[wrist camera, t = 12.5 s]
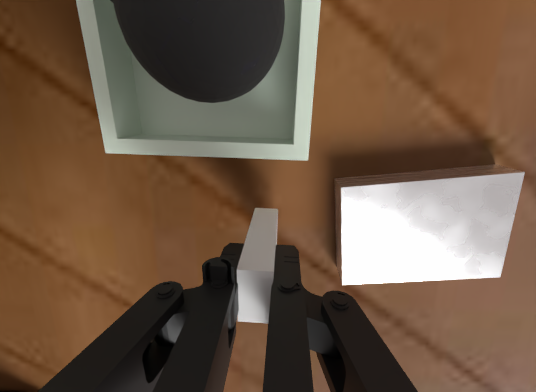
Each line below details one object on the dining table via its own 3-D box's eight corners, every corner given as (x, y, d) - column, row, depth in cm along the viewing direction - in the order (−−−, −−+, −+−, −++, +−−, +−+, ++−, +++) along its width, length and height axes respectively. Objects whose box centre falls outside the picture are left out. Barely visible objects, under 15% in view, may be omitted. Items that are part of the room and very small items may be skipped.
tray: (138, 144, 17) (105, 153, 14) (107, -69, 13) (51, -123, 10) (303, 150, 16) (307, 160, 13) (319, -71, 12) (331, -129, 9)
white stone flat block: (335, 263, 19) (342, 284, 17) (333, 176, 17) (341, 187, 15) (472, 255, 18) (500, 277, 16) (489, 162, 16) (524, 172, 14)
